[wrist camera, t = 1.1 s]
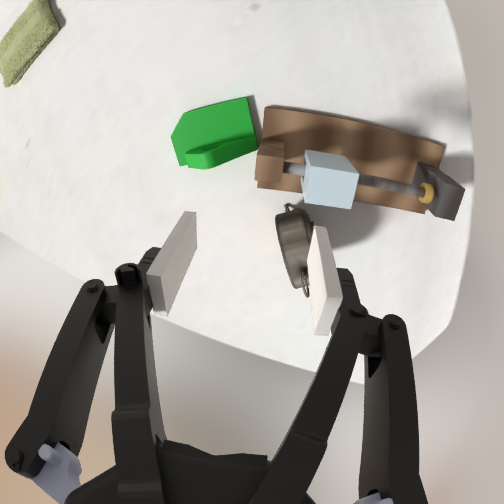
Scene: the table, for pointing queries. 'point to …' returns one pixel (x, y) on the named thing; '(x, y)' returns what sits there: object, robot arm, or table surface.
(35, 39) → the washcloth
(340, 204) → the light blue block
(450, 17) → the table surface
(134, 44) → the table surface
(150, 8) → the table surface
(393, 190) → the wooden slider rail stand
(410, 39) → the table surface
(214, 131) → the bracket
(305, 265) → the alarm clock
